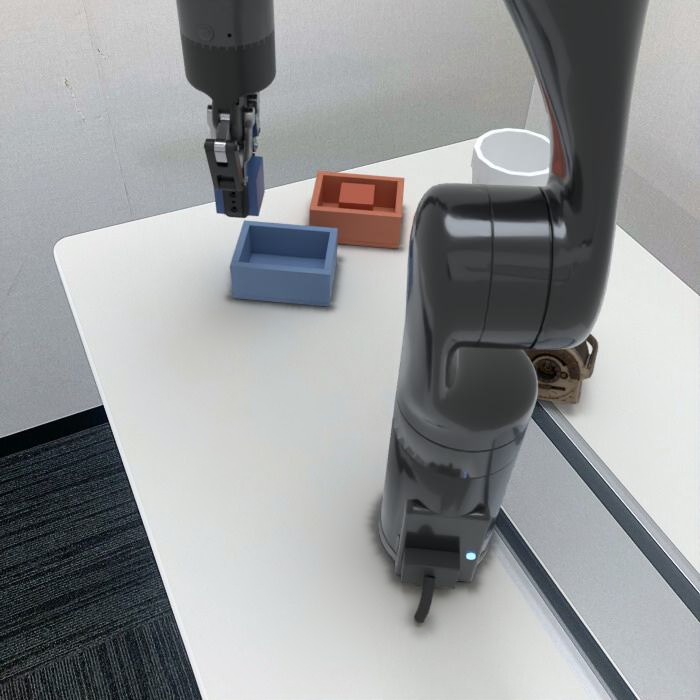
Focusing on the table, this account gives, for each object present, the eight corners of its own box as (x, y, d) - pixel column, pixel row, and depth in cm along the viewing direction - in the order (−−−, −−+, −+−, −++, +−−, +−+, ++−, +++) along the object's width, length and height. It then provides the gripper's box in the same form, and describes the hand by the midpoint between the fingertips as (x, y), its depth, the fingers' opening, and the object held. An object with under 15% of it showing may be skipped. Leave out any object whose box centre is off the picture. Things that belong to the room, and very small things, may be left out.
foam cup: (548, 241, 91) (575, 146, 82) (517, 282, 86) (543, 186, 76) (477, 214, 95) (496, 119, 85) (443, 252, 89) (459, 156, 80)
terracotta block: (371, 232, 90) (373, 204, 87) (337, 229, 90) (338, 201, 87) (373, 212, 93) (374, 184, 90) (340, 209, 93) (341, 182, 90)
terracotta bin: (398, 248, 89) (401, 217, 86) (309, 241, 90) (309, 209, 86) (401, 209, 95) (404, 177, 91) (317, 202, 95) (317, 170, 92)
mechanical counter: (475, 334, 72) (567, 373, 66) (550, 264, 78) (641, 294, 72) (481, 387, 77) (567, 428, 71) (551, 317, 83) (637, 349, 77)
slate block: (258, 216, 71) (256, 180, 68) (216, 213, 71) (212, 177, 68) (264, 192, 74) (262, 156, 71) (224, 189, 74) (220, 153, 71)
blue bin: (329, 306, 82) (330, 274, 79) (232, 298, 82) (229, 265, 79) (336, 259, 87) (337, 227, 84) (246, 252, 88) (243, 220, 84)
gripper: (260, 66, 55) (269, 250, 67) (285, -11, 65) (289, 162, 77) (158, 59, 55) (186, 244, 68) (198, -17, 65) (216, 157, 77)
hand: (241, 200), depth 72 cm, fingers closed on slate block, 4 cm apart
